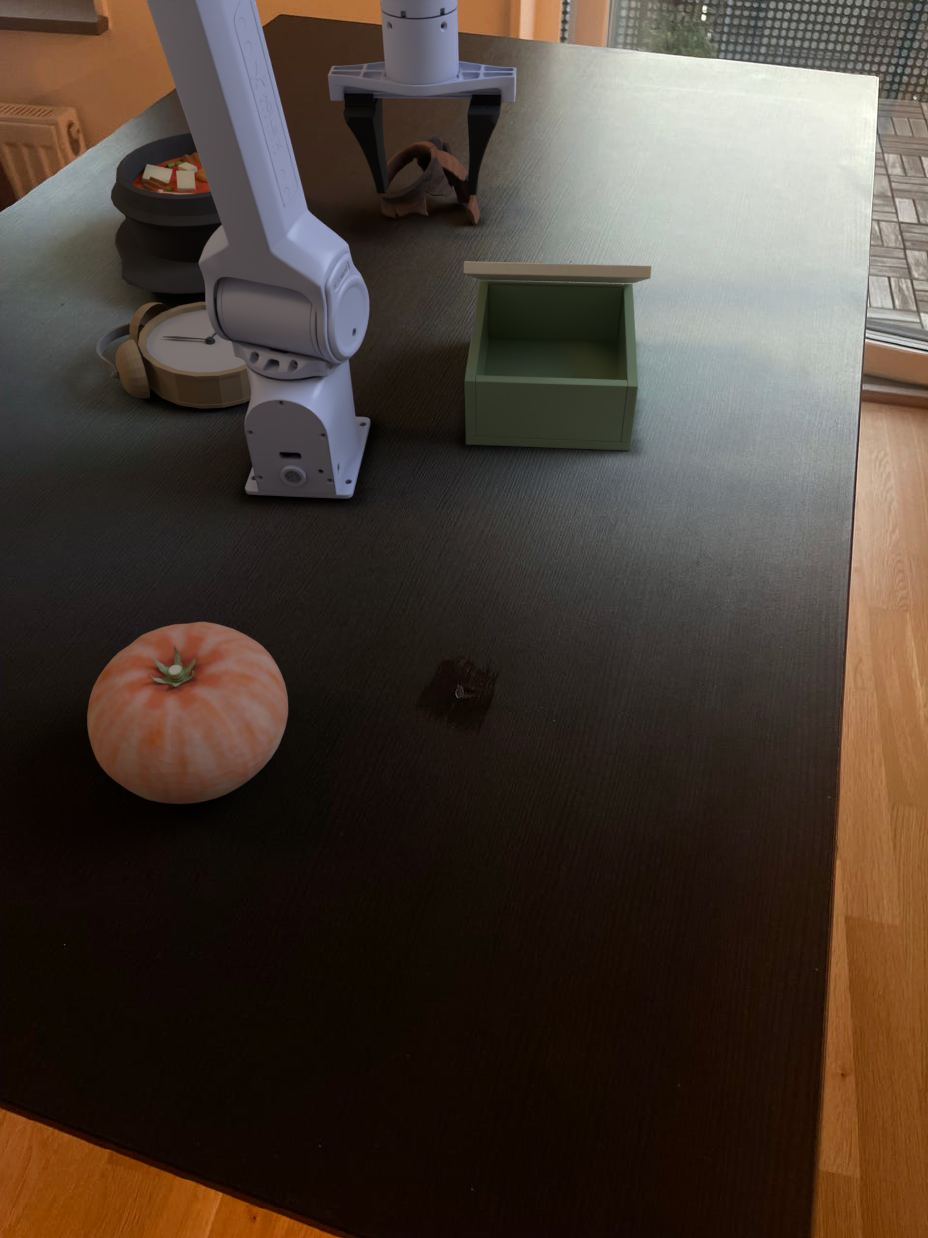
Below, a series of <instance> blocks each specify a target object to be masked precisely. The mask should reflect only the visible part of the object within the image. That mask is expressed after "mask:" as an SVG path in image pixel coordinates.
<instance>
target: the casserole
mask: <svg viewBox="0 0 928 1238" xmlns="http://www.w3.org/2000/svg"><path fill="white" fill-rule="evenodd" d="M115 173H116V174H115V183H114V184H113V186H112V188H111V190H110V200H111V203H112V205H113V206H114V207H115V208H116V210H117V211H118V212H120V213H121V214H122V215H123V216H124V217H125V219H124V220H123V221H122V222H121V223H120V225H119V226H118V229H117V231H116V233H115V236H114V245H115V248H116V250H117V252H118V255H119V257H120V260H121V279H122V280H123V281H124V282H125V283H126V284H127V285H129V286H132V287H134V288H136V289H139V290H144V291H149V292H153V293H162V294H173V295H174V294H175V295H177V294H201V293H206V290H205V281H204V278H203V274H202V271H201V269H200V266H199V260H200V257H201V255H202V252H203V250H204V247H205V245H206V243H207V242H208V240H209V239H210V237H211V236H212V235H213V233H214V232H215V231H216V230H217V229H218V228H219V227H220V226H221V225H222V223H221V220H220V217H219V214H218V211H217V208H216V205H215V202H214V199H213V196H212V193H211V190H210V187H209V185H208V182H207V179H206V176H205V173H204V170H203V167H202V164H201V161H200V158H199V155H198V152H197V149H196V146H195V143H194V140H193V137H192V134H191V132H186V133H180V134H174V135H170V136H165V137H163V138H159V139H157V140H154V141H153V140H152V141H150V142H148V143H145V144H143V145H141V146H139V147H137V148H135V149H133V150H132V151H130V152H129V153H128V154H126V155H125V156H124V157H123V158H122V159H121V160H120V162H119V163H118V165H117V167H116V172H115Z"/></svg>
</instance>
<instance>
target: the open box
mask: <svg viewBox="0 0 928 1238" xmlns="http://www.w3.org/2000/svg"><path fill="white" fill-rule="evenodd" d="M476 295H477V296H476V302H475V308H474V313H473V315H474V316H473V321H472V323H473V324H472V329H471V335H470V340H469V341H470V342H469V348H468V354H467V355H468V356H467V361H466V366H465V375H464V381H463V382H464V420H465V423H464V424H465V425H464V426H465V445H469V446H471V445H473V446H474V445H475V446H500V447H523V448H525V447H526V448H551V449H553V448H554V449H575V450H576V449H579V450H580V449H581V450H605V451H627V452H628V451H631V448H632V440H633V430H634V425H635V424H634V422H635V416H636V407H637V402H638V401H637V400H638V392H639V375H638V374H639V373H638V371H639V370H638V354H637V337H636V336H637V335H636V319H635V318H636V317H635V301H634V300H635V298H634V283H593V282H554V281H514V280H480V279H479V281H478V289H477V294H476Z"/></svg>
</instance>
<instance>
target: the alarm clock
mask: <svg viewBox="0 0 928 1238" xmlns="http://www.w3.org/2000/svg"><path fill="white" fill-rule="evenodd" d="M126 336H129V338H130V339H128V340H126V341H124V342H123V343H121V344H120V345H119V346H118V348H117V351H116V354H115V365H114V364H113V363H112V362H111V360H108V359H107V358H105V356H103V353H104V351H105V350H106V348H107V347H108V346H109V345H110V344H111V343H113V342H114V341H116V340H118V339H120V338H123V337H126ZM95 347H96V348H95V349H96V355H97V360H98V362H99V364H100V366H101V367H102V368H103V369H104V370H106V371H107V372H109V373H110V377H111V379H114V380H117V381H118V383H119V382H120V384H121V386H122V387H123V388H124V389H125V391H126V392H127V393H128V394H130V395H131V396H132V397H135V398H137V399H150V398H151V391H153V392H154V393H155V394H156V395H158V397H160V398H161V399H163V400H165V401H169V402H170V403H173V404H176V405H178V406H182V407H187V408H188V407H190V408H194V409H195V408H196V409H222V408H227V407H232V406H237V405H240V404H245V403H247V402H250V399H251V387H250V382H249V378H248V373H247V368H246V363H245V361H244V360H243V359H241V358H238V357H235V355H234V350H233V345H232V341H227V340H224V339H222V338H221V337H219V336H218V335H217V334H216V332H215V331H214V329H213V327H212V325H211V323H210V320H209V317H208V313H207V309H206V301H198V302H192V303H187V304H182V305H181V304H180V305H178V306H175V307H173V308H170V306H168V305H167V304H165V303H162V302H148V303H145V304H143V305H141V306H140V307H139V308H138V309H137V310H136V311H135V313H134V314H133V316H132V318H131V319H130V322H128V323H124V324H120V325H117V326H115V327H113V328H111V329H109V330H107V331H105V332H104V333H103V334H102V335H101V336H100V338H98V340H97V342H96V346H95ZM150 390H151V391H150Z"/></svg>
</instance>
